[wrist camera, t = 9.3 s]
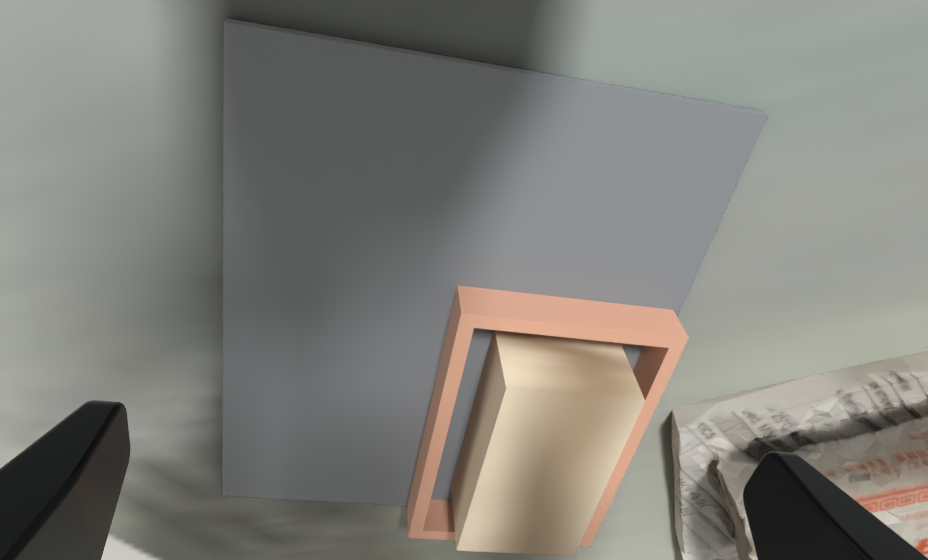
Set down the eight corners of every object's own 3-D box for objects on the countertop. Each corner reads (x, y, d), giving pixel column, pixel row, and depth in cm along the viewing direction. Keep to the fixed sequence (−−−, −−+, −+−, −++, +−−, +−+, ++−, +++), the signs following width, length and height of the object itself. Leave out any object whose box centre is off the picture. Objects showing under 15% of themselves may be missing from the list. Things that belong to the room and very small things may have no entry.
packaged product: (1264, 382, 22) (1155, 558, 28) (1131, 295, 26) (1059, 464, 32) (708, 500, 23) (712, 647, 29) (661, 399, 27) (673, 545, 33)
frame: (457, 285, 22) (461, 313, 21) (673, 309, 23) (688, 337, 22) (407, 506, 28) (407, 538, 27) (581, 515, 29) (590, 546, 28)
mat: (226, 18, 17) (223, 21, 17) (762, 110, 20) (768, 115, 20) (224, 487, 27) (222, 495, 27) (585, 508, 30) (587, 516, 29)
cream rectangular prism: (450, 484, 27) (456, 550, 25) (494, 327, 23) (506, 388, 21) (558, 491, 28) (574, 556, 26) (619, 340, 24) (645, 400, 21)
